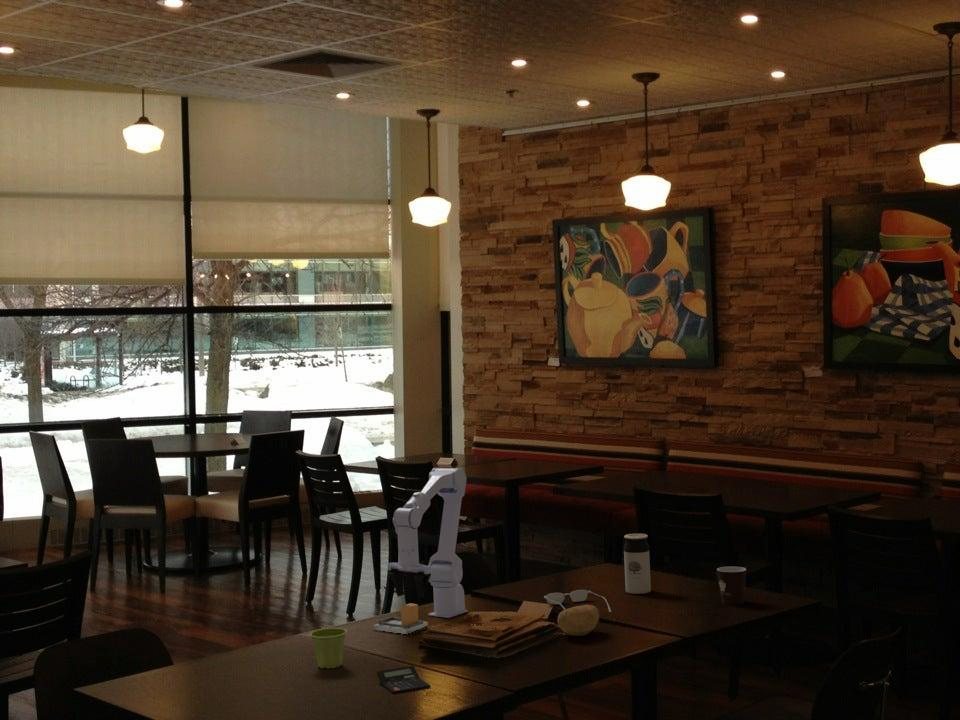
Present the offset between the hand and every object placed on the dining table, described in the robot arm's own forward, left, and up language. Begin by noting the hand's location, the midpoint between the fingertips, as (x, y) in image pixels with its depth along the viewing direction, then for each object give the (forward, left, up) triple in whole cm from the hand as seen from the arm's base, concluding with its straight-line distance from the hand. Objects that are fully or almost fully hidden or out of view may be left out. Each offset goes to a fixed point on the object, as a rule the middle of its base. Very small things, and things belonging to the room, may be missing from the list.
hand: (410, 596), depth 338 cm
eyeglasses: (-43, +29, -10) cm, 53 cm away
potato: (-16, +47, -10) cm, 50 cm away
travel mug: (-71, +35, -10) cm, 80 cm away
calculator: (+44, +34, -10) cm, 56 cm away
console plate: (+1, -3, -9) cm, 10 cm away
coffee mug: (-71, +67, -10) cm, 98 cm away
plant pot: (+40, +6, -10) cm, 41 cm away
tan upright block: (+1, 0, -8) cm, 8 cm away
